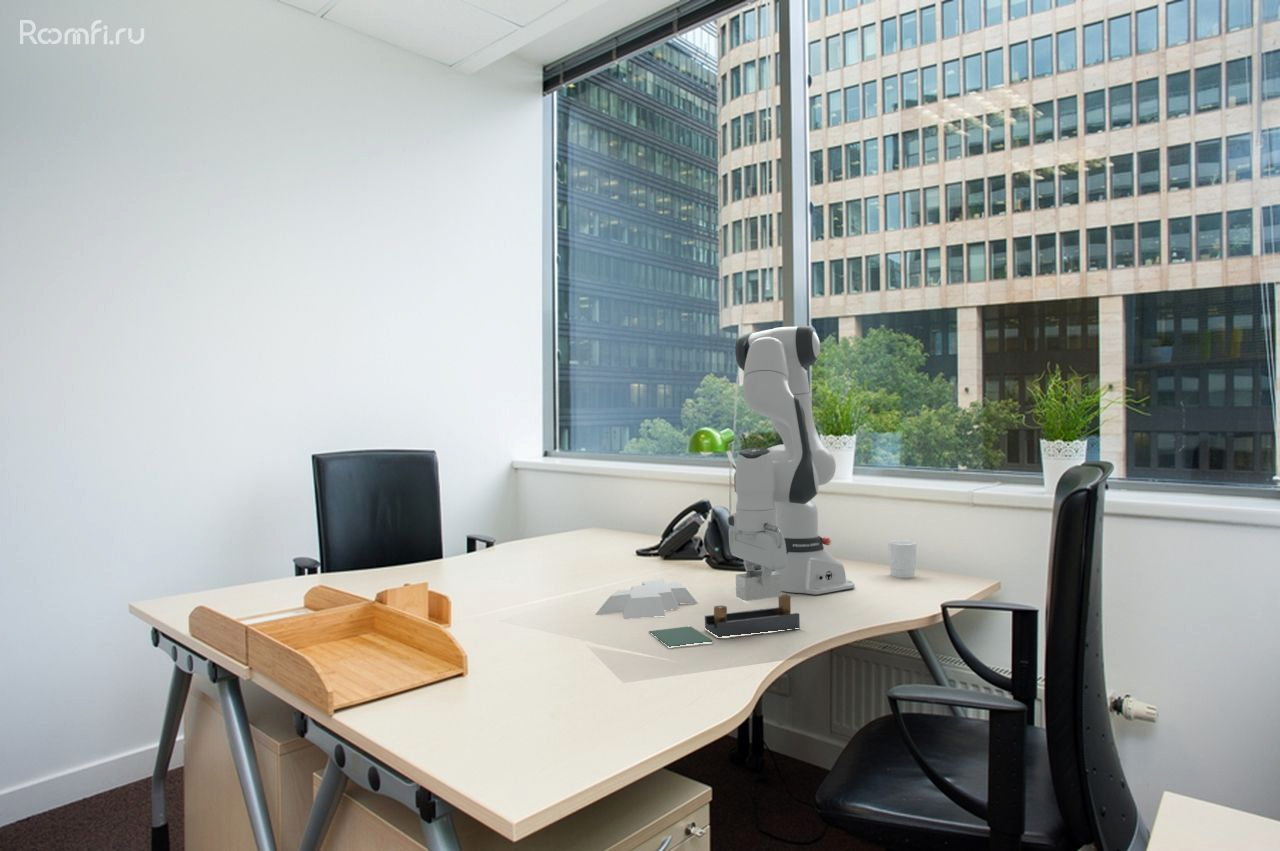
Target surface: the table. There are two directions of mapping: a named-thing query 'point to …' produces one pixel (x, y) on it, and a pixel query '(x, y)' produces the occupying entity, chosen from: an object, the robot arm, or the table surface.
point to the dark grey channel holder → (752, 620)
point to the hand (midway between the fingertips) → (758, 582)
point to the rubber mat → (680, 636)
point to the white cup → (902, 558)
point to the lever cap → (757, 586)
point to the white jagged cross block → (647, 599)
